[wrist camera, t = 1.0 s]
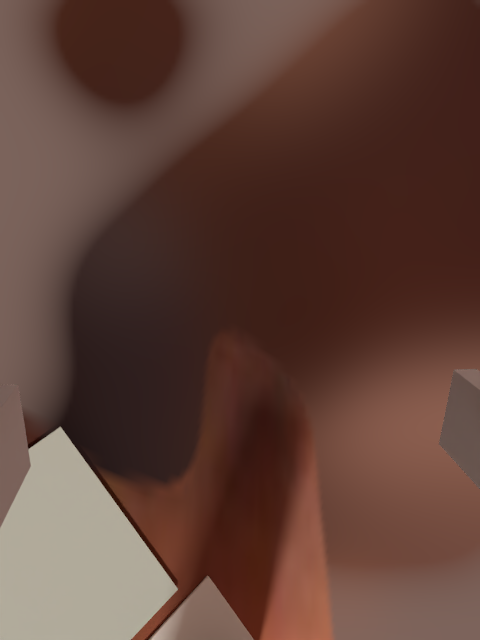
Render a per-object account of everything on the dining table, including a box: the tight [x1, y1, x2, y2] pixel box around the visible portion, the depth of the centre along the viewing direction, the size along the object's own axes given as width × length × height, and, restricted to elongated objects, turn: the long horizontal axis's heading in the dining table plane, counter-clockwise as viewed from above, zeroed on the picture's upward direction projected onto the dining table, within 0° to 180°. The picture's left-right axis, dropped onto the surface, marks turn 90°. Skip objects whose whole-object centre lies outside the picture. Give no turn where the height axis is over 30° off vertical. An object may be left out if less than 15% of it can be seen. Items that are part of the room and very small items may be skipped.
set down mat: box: [0, 427, 178, 640], centre depth 25 cm, size 13×13×1 cm
